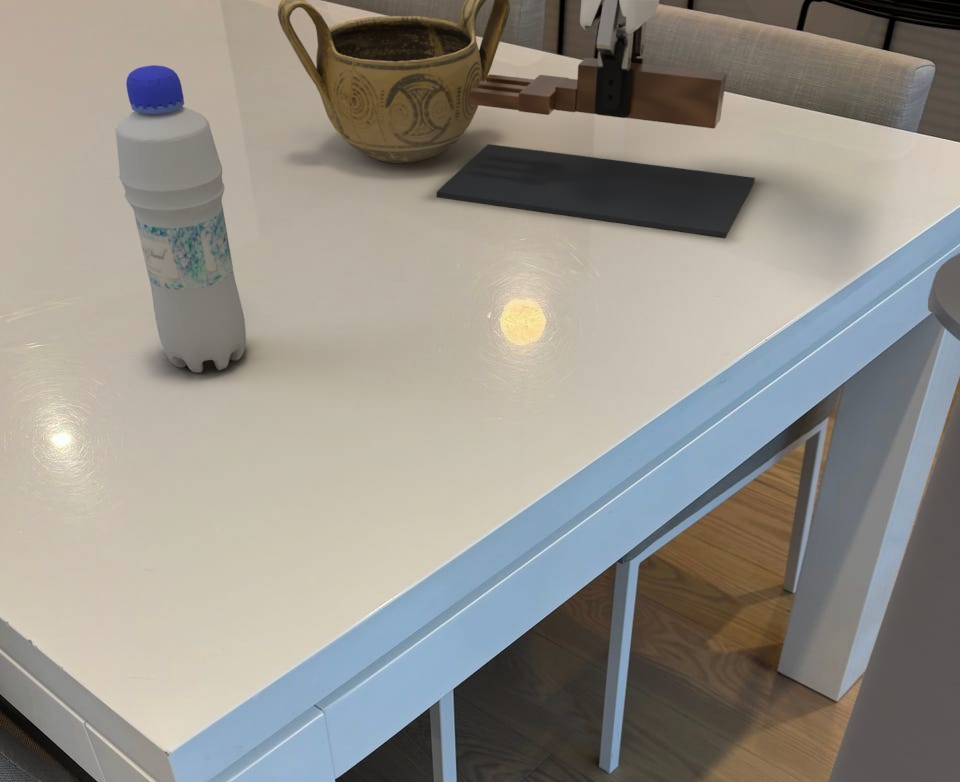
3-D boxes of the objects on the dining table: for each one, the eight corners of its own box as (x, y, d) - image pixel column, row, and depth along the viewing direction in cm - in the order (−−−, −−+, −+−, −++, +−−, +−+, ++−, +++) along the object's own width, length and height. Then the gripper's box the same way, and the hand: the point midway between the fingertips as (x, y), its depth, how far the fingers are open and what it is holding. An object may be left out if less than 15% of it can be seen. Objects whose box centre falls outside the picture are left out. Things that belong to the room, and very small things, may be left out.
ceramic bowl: (315, 195, 104) (296, 21, 94) (281, 138, 116) (261, -22, 106) (531, 166, 109) (535, -2, 99) (477, 115, 121) (476, -40, 111)
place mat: (754, 182, 106) (755, 177, 105) (725, 237, 96) (726, 232, 96) (487, 148, 113) (487, 143, 113) (436, 196, 104) (436, 191, 103)
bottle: (147, 354, 81) (78, 64, 68) (226, 328, 84) (176, 45, 71) (187, 389, 77) (122, 90, 64) (269, 361, 80) (224, 69, 67)
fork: (724, 114, 99) (731, 66, 96) (710, 135, 95) (716, 86, 92) (490, 86, 105) (490, 41, 102) (467, 105, 101) (467, 58, 98)
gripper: (618, -151, 93) (602, 80, 106) (561, -120, 82) (550, 133, 95) (703, -146, 91) (676, 88, 104) (656, -114, 80) (633, 144, 93)
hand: (616, 108), depth 99 cm, fingers closed on fork, 2 cm apart
